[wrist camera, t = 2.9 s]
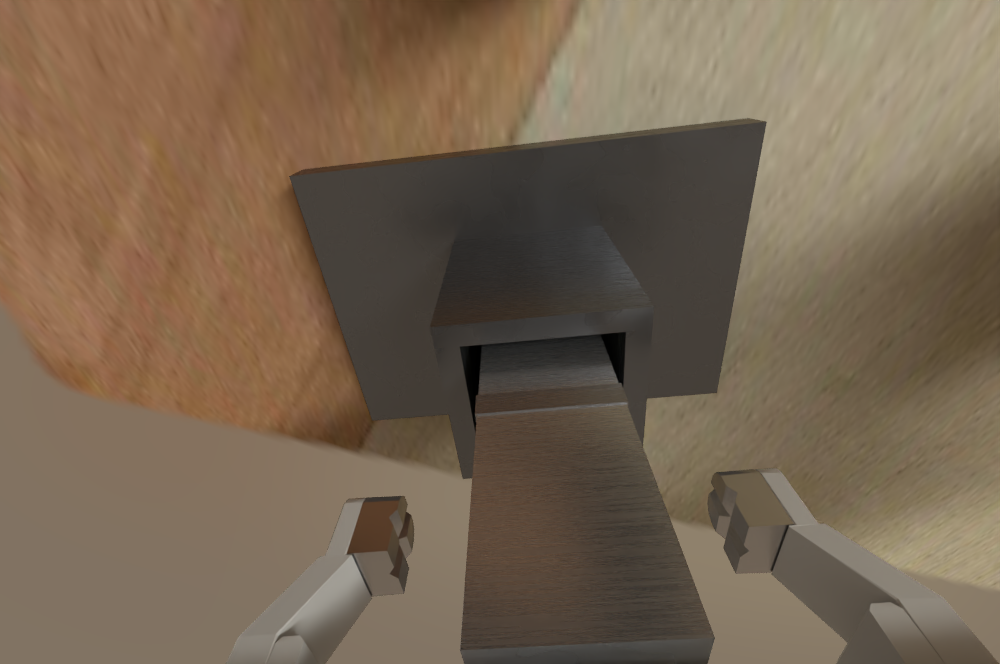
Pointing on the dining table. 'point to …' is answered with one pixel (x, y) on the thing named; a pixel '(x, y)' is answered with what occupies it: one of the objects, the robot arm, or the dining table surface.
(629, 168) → the stand
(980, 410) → the dining table surface
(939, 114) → the dining table surface
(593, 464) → the column
